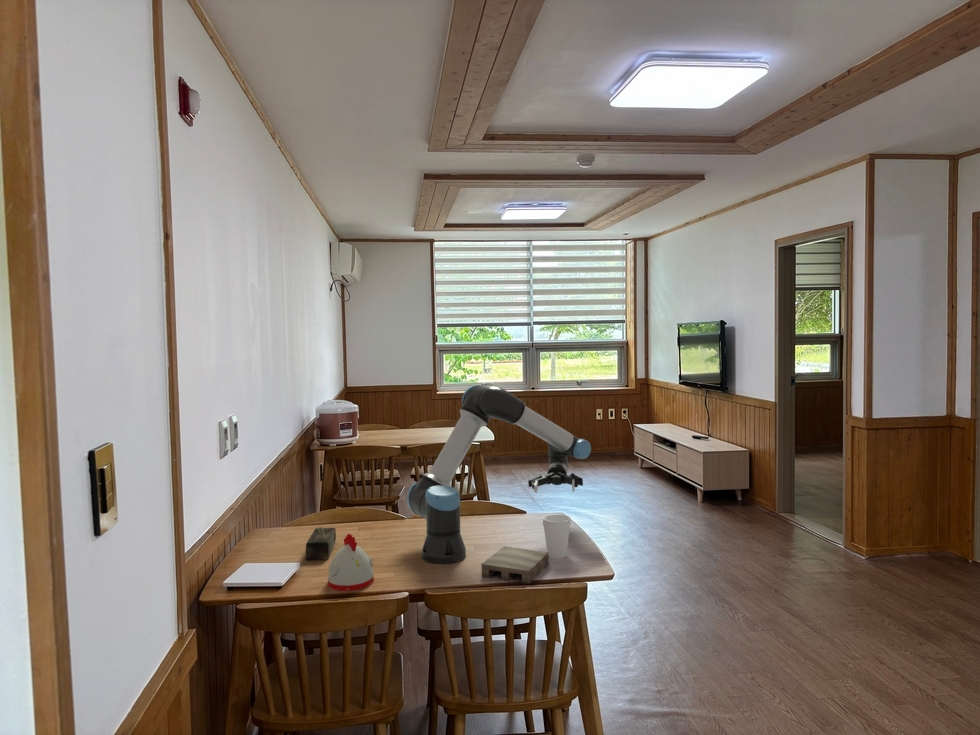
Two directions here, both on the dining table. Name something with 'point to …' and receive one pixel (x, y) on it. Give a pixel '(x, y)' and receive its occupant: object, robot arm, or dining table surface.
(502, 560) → the miniature wooden pallet
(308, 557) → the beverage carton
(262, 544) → the dining table surface
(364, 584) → the kitchen timer
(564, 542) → the foam cup
